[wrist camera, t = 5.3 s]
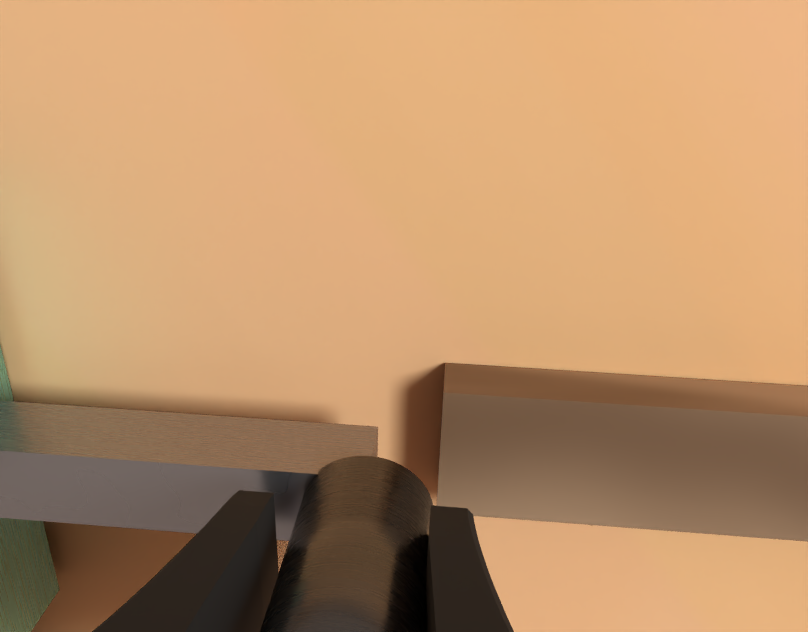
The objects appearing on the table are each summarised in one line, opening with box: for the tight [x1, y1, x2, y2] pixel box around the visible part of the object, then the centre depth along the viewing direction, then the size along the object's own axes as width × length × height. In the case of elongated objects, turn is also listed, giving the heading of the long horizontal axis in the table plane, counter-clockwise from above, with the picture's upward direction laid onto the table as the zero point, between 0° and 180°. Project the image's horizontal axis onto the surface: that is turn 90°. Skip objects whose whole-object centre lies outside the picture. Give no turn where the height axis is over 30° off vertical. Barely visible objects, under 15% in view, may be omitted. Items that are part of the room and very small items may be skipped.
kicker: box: [0, 346, 433, 632], centre depth 12 cm, size 11×11×8 cm
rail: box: [437, 363, 808, 541], centre depth 15 cm, size 3×10×1 cm, turn 88°
